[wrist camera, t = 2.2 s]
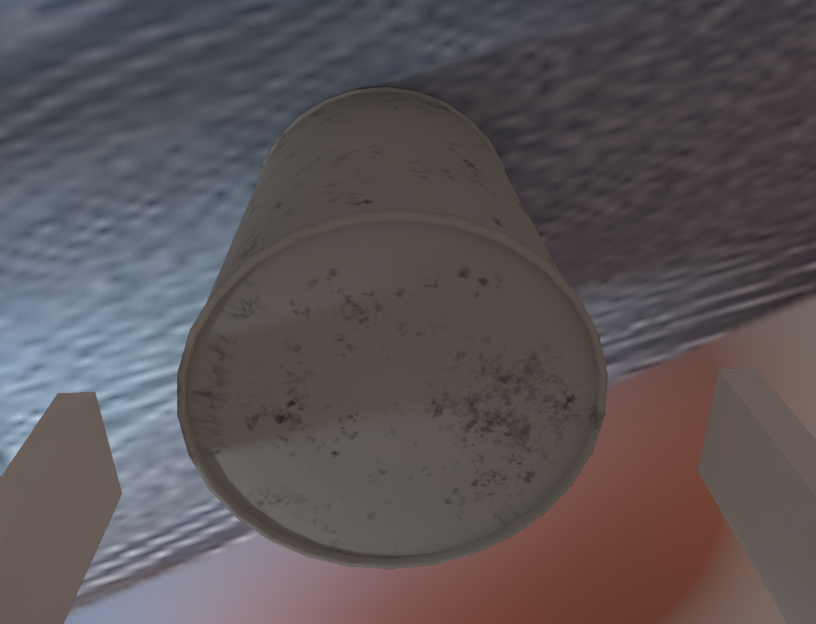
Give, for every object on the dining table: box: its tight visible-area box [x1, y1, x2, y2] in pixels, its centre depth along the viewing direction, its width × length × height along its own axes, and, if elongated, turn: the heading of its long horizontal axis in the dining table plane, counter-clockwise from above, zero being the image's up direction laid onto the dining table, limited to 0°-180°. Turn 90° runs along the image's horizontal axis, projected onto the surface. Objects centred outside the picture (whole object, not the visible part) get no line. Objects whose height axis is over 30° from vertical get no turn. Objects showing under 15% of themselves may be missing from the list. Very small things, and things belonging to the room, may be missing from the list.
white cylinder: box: [177, 87, 607, 569], centre depth 22 cm, size 10×10×12 cm
